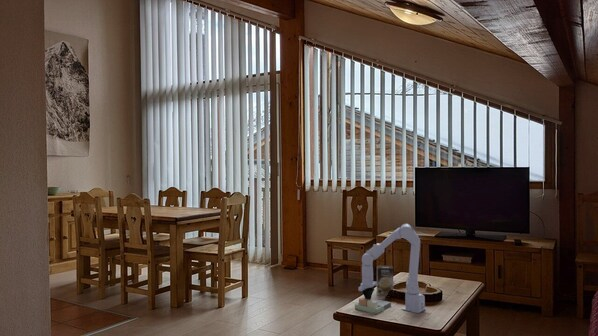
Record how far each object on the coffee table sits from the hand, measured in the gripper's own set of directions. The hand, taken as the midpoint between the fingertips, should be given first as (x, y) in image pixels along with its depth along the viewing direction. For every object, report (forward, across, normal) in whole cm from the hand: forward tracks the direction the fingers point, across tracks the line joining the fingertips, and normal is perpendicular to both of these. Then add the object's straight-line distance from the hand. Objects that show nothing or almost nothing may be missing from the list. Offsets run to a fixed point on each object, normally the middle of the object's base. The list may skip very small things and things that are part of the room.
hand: (367, 301), depth 265 cm
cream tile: (0, +2, +5) cm, 5 cm away
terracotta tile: (0, +1, 0) cm, 1 cm away
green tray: (+3, +3, +3) cm, 5 cm away
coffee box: (+3, -25, -5) cm, 26 cm away
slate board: (+3, -5, +3) cm, 6 cm away
